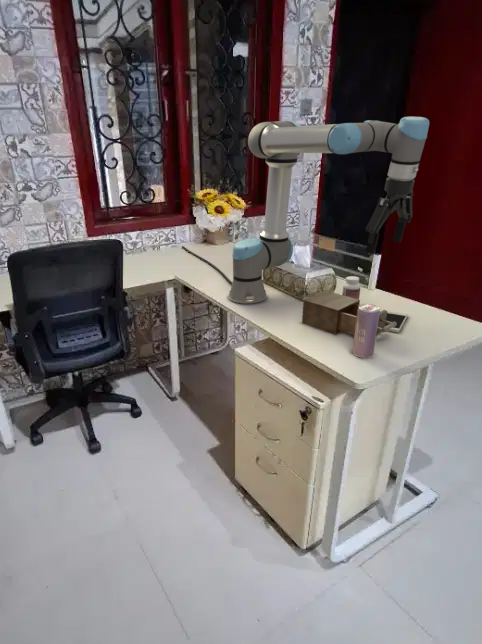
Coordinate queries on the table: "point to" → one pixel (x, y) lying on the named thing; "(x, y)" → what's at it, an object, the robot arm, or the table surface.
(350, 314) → the drawer
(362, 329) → the beverage can
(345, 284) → the pill bottle
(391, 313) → the smartphone
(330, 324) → the cabinet
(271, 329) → the table surface
